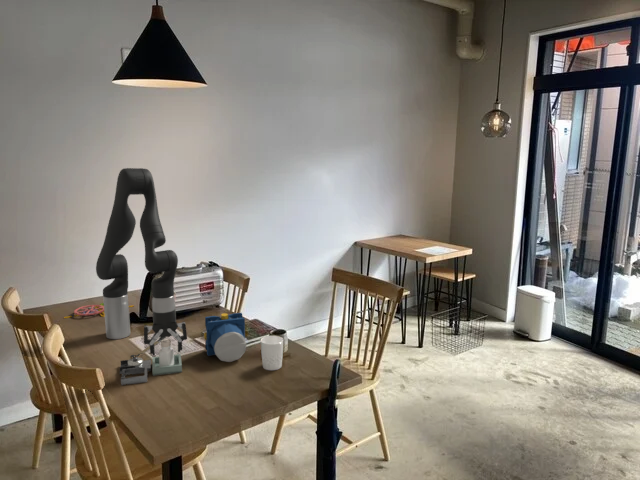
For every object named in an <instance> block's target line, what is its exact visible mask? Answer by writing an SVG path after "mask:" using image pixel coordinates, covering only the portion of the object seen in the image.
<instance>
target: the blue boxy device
mask: <svg viewBox="0 0 640 480" xmlns="http://www.w3.org/2000/svg"><path fill="white" fill-rule="evenodd" d="M220 315H221V316H219V315H218V316H217V315H211V316H210V315H209V316H205V317H204V319H205V320H204V321H205V322H204V323H205V325H204V326H205V328H206V330H205V332H203V338H204V340H205V342H204V343H205V346H204V347H205V350H206V354H207V357H210V356H216V357H217V358H218V360H220V361H222V362H226V363H231V362H234V361H237V360H239V359H241V357H242V356H243V355H244V354H245V352H246V349H247V341H246V320H245V317H243V313H242V312H235V313H230V314H228V313H226V312H223V313H221V314H220Z"/></svg>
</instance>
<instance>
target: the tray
mask: <svg viewBox="0 0 640 480" xmlns="http://www.w3.org/2000/svg"><path fill="white" fill-rule="evenodd" d="M151 371H152V376H153V377H154V376H163V375H169V374H172V375H173V374H179V373H183V364H182V355H181V353H180V354H179V353H177V354H174V365H171V366H162V367H160V365H159V356H153V357H152V361H151Z"/></svg>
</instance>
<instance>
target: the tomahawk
mask: <svg viewBox="0 0 640 480" xmlns="http://www.w3.org/2000/svg"><path fill="white" fill-rule="evenodd" d="M164 339H167V337H163V338H161V337H158V339H157V340H156V341H155V342H154V347H155V346H157V345H158V344H159V343H160V344H161V340H164ZM147 350H148V351H150V345H148V346H147V347H146V348H145V349H143V350H141V351H140V352H139V353H137V354H132V355H130V358H131V357H134V356H135V357H138V356H139V355H140V354H143V353H144V352H145V353H147V352H148V351H147ZM145 353H144V354H145ZM144 354H143V355H144Z"/></svg>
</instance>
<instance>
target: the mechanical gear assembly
mask: <svg viewBox="0 0 640 480" xmlns="http://www.w3.org/2000/svg"><path fill="white" fill-rule="evenodd" d="M134 306H135V305H132V304H131V305H129V308H132V307H134ZM79 310H80V311H79ZM73 312H74V313H72V314H71V315H70V316H64V317H63V318H64V319H69V318H77V317H80V316H84V317H85V316H93V315H94V316H95V315H97V314H99V315H100V317H102V318H105V313H104V302H102V303H101V302H100V304H88V305H83V306H80V307H77V308H76V309H74V310H73Z"/></svg>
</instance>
